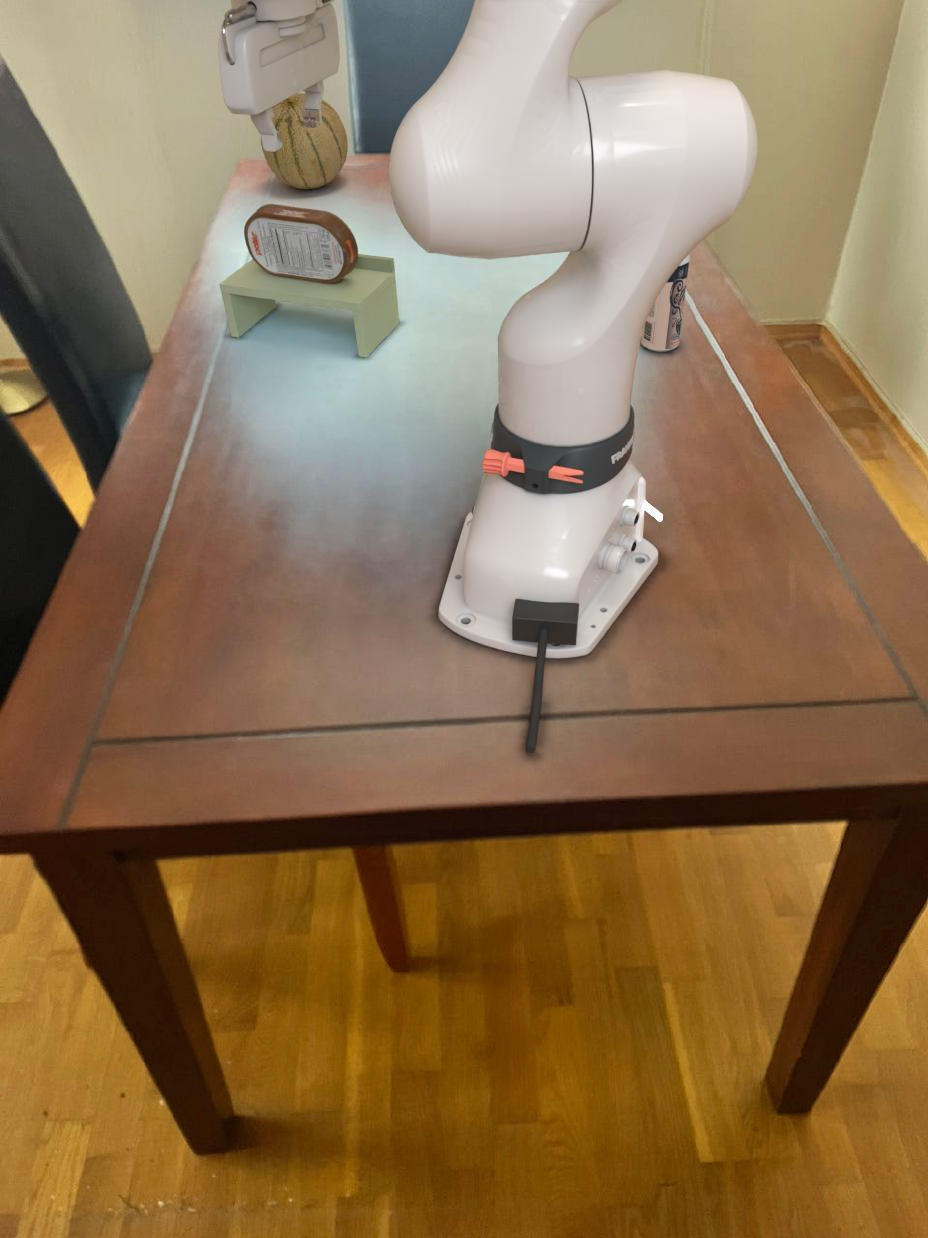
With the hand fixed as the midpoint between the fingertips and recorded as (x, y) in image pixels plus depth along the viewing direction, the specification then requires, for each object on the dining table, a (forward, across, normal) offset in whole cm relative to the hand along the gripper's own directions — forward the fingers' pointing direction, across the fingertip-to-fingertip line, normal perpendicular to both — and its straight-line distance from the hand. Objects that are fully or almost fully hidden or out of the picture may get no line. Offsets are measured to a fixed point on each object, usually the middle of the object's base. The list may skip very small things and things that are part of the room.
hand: (294, 137), depth 107 cm
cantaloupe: (+23, +50, +29) cm, 62 cm away
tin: (+16, 0, +1) cm, 17 cm away
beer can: (+24, +8, -43) cm, 50 cm away
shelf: (+24, 0, +1) cm, 24 cm away
